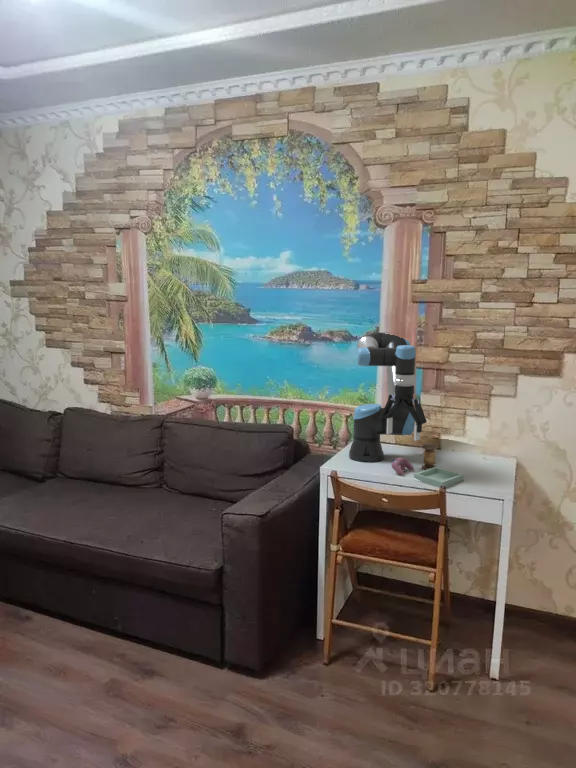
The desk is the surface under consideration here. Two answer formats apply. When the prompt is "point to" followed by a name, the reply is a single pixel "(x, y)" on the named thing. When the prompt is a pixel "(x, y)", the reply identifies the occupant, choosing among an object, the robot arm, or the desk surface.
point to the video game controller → (401, 465)
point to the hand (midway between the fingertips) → (402, 436)
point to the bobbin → (429, 456)
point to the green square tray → (439, 477)
